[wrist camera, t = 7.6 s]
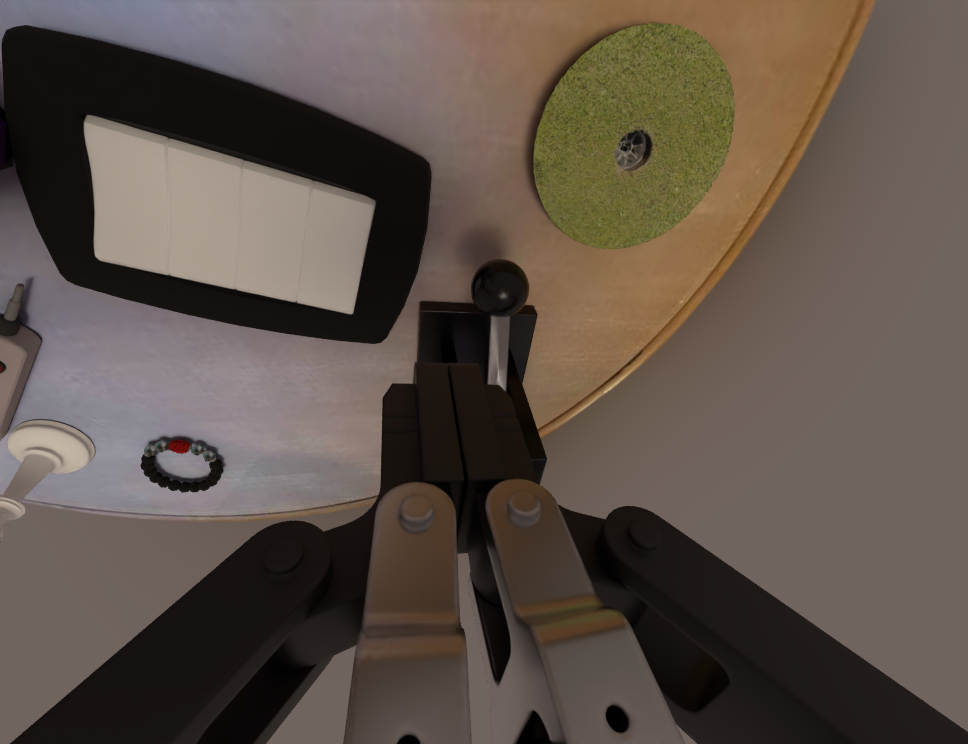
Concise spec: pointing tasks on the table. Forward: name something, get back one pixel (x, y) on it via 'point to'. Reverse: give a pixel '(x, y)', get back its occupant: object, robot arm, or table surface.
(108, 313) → the table surface
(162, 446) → the bracelet
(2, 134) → the potion bottle
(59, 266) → the light switch
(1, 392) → the grey electronic device
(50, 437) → the chess piece
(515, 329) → the switch bracket
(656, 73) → the mat
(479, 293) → the switch lever
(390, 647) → the robot arm
